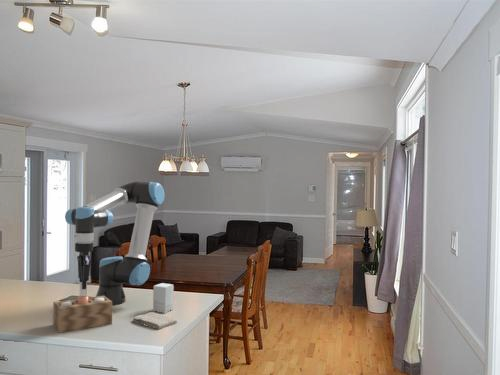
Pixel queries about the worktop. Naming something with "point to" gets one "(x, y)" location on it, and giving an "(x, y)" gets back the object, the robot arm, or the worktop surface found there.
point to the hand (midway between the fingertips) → (83, 295)
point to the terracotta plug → (83, 299)
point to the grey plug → (66, 303)
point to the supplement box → (163, 297)
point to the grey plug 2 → (98, 299)
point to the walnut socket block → (82, 314)
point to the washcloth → (155, 320)
